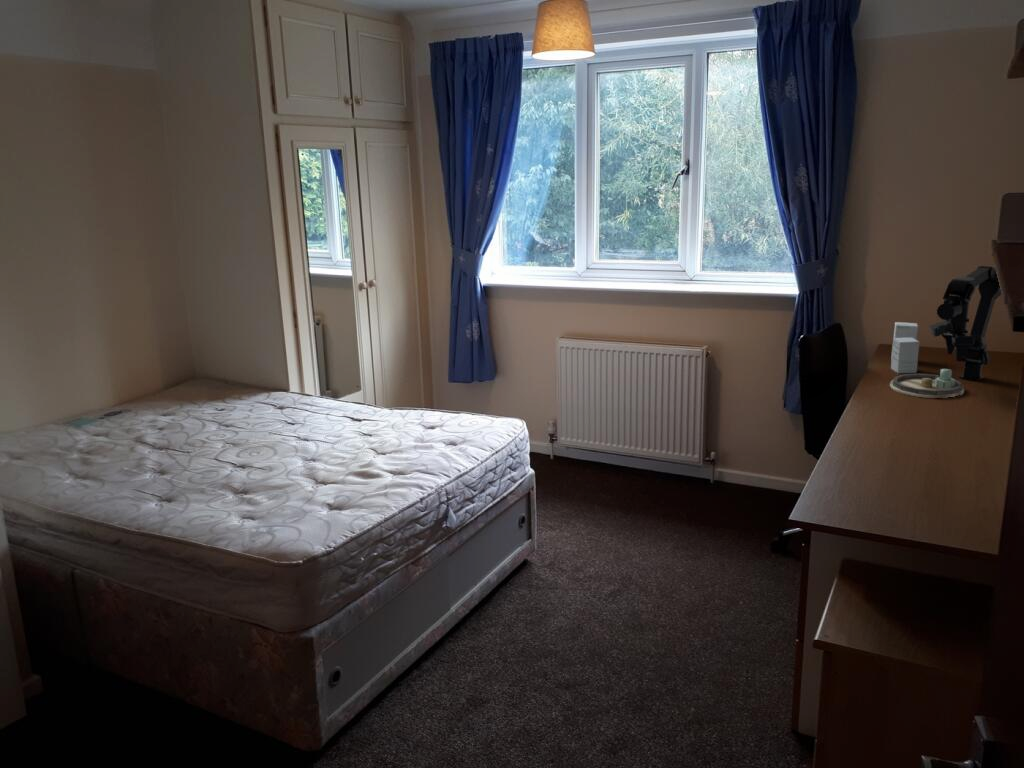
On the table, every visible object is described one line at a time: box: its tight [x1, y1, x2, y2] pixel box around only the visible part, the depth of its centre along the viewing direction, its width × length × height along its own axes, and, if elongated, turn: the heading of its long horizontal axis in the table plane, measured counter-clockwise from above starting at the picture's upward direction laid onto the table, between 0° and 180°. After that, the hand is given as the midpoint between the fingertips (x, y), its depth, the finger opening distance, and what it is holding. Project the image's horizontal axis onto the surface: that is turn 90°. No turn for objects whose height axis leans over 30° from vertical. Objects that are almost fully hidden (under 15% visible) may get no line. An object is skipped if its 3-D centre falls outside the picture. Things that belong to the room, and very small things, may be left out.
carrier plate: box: [889, 373, 965, 399], centre depth 287 cm, size 24×24×4 cm
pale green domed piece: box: [935, 368, 956, 389], centre depth 285 cm, size 6×6×6 cm
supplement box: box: [890, 337, 920, 374], centre depth 309 cm, size 7×7×13 cm
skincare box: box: [890, 321, 919, 361], centre depth 321 cm, size 8×7×16 cm
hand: (953, 357), depth 284 cm, fingers open, 9 cm apart
